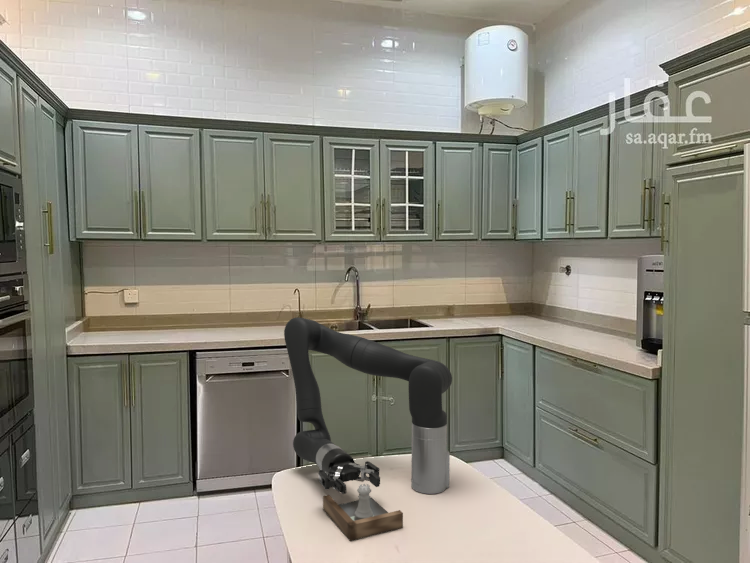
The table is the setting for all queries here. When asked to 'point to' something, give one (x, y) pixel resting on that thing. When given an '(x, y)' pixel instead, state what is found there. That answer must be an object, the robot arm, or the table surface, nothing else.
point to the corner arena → (362, 527)
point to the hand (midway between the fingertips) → (361, 486)
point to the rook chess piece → (363, 503)
